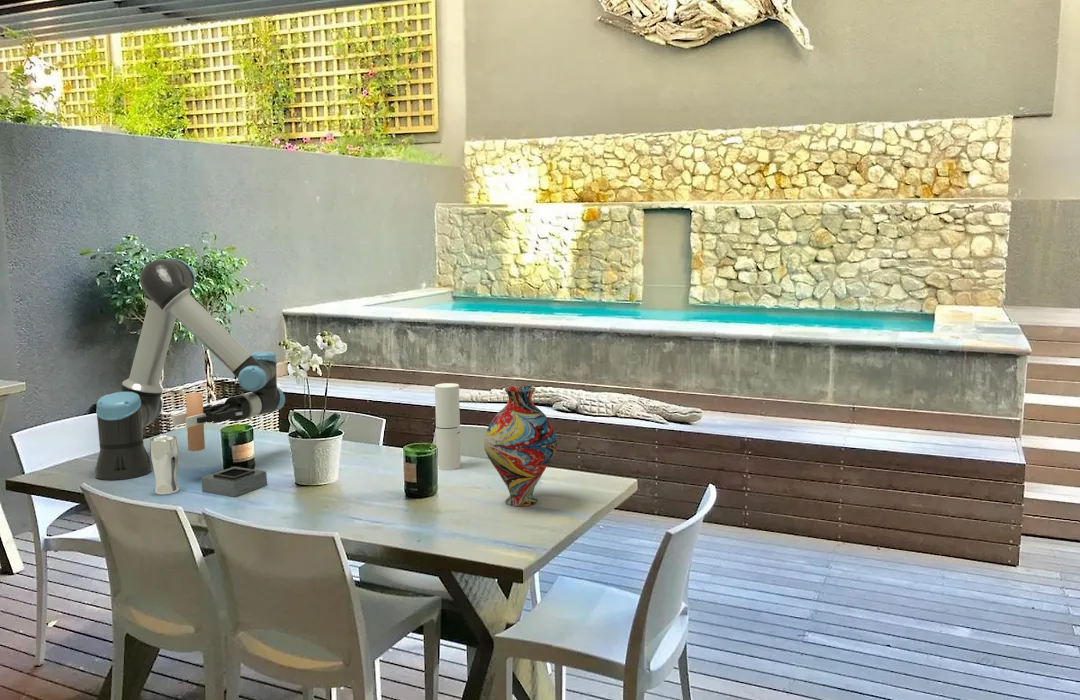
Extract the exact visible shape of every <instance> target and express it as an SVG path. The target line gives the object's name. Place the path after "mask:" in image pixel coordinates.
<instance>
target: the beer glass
mask: <svg viewBox="0 0 1080 700" xmlns="http://www.w3.org/2000/svg"><path fill="white" fill-rule="evenodd" d="M149 441H150V445H149V446H150V447H149V449H150V450H149V451H150V452H149V454H150V455H149V456H150V461H151V465H152V470H153V474H154V477H155V478H154V479H155V486H154V487H155V488H154V493H155V494H156V495H159V496H164V495H165V496H166V495H173V494H175V493H177V492H179V490H180V488H179V485H178V479H177V477H178V476H177V474H178V464H179V447H178V446H179V445H178V439H177V436H175V435H158V436H154V437H152V438H150V439H149Z"/></svg>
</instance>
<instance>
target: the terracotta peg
mask: <svg viewBox="0 0 1080 700" xmlns="http://www.w3.org/2000/svg"><path fill="white" fill-rule="evenodd" d="M203 398H204V397H203V393H202V392H189V393H185V405H186V406H185V407H186V409H185V410H186V411H187V417H191V416H195V415H199V414H203V407H204V402H203V401H204V399H203ZM186 429H187V449H188V451H191V452H198V451H203V450H205V449H206V448H205V447H206V444H205V442H206V440H205V423H204V424H200V425H196V426H192V427H186Z"/></svg>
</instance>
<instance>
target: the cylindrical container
mask: <svg viewBox="0 0 1080 700" xmlns="http://www.w3.org/2000/svg"><path fill="white" fill-rule="evenodd" d="M434 394H435V395H434V397H435V398H434V399H435V401H434V403H435V404H434V405H435V435H436V437H435V440H436V441H435V443H436V445H435V446H437V447H438V466H439V469H438V470H440V469H441V471H453V470H458V469H460V468H461V465H462V464H461V463H462V462H461V459H462V458H461V421H460V420H461V419H460V417H461V415H460V413H461V412H460V384H458V383H452V382H451V383H450V382H448V383H447V382H446V383H443V382H442V383H438V384H435V385H434Z"/></svg>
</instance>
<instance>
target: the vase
mask: <svg viewBox="0 0 1080 700" xmlns="http://www.w3.org/2000/svg"><path fill="white" fill-rule="evenodd" d="M504 391H505V393H506V394H507V396H508V401H507V403H506V404H505V405H504V406H503V408H501V409H500V410H499V411H498V412H497V413H496V414H495V416H493V418H492V420H491V421H490V424H488V427H487V430H486V432H485V434H484V435H485V436H484V441H483V442H484V445H483V446H484V447H483V449H484V451H485V454H486V455H487V458H488V459H489V460H490V462H491V464H492V465H493V468H494V469H495V470H496V471H497V473H498V474H499V475H498V476H500V478H501V480H502V481H503V482H504V485H505V486H506V487H507V490H508V493H509V496H508V497H507V498H506V500H505V501H504V502H505V504H507V505H510V506H513V507H529V506H532V505H535V504H537V503H538V499H537V498H535V497H534V496H533V495H534V494H533V493H534V491H535V488H536V486H537V484H538V482H539V480H540V479H541V477H542V475H543V474H544V472H545V470H546V469H547V468H548V466H549V464H550V463H551V461H552V459H553V458H554V456H555V453H556V452H557V448H558V442H557V441H558V440H557V435H556V431H555V429H554V426H553V425H552V422H551V421H550V420H549V419H550V418H548V417H547V415H546V414H545V413H544V412H543V411H542V410H541V409H539V408H538V407H537V406H536V405H535V404H534V402H533V394H534V392H535V391H536V387H534V386H529V385H516V386H507V387H505V388H504Z"/></svg>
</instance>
